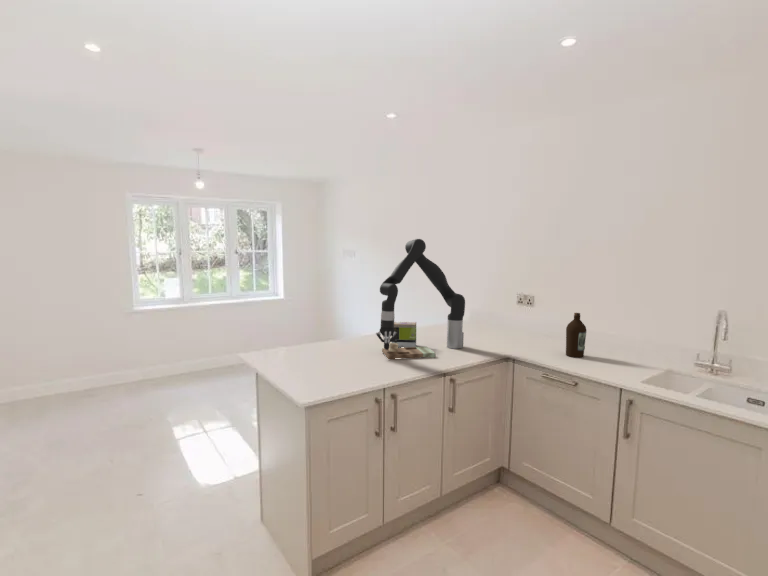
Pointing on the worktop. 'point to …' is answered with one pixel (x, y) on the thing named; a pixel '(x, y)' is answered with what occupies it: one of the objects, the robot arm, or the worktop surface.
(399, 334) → the tea box
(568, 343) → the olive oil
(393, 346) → the block
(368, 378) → the worktop surface
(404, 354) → the board
